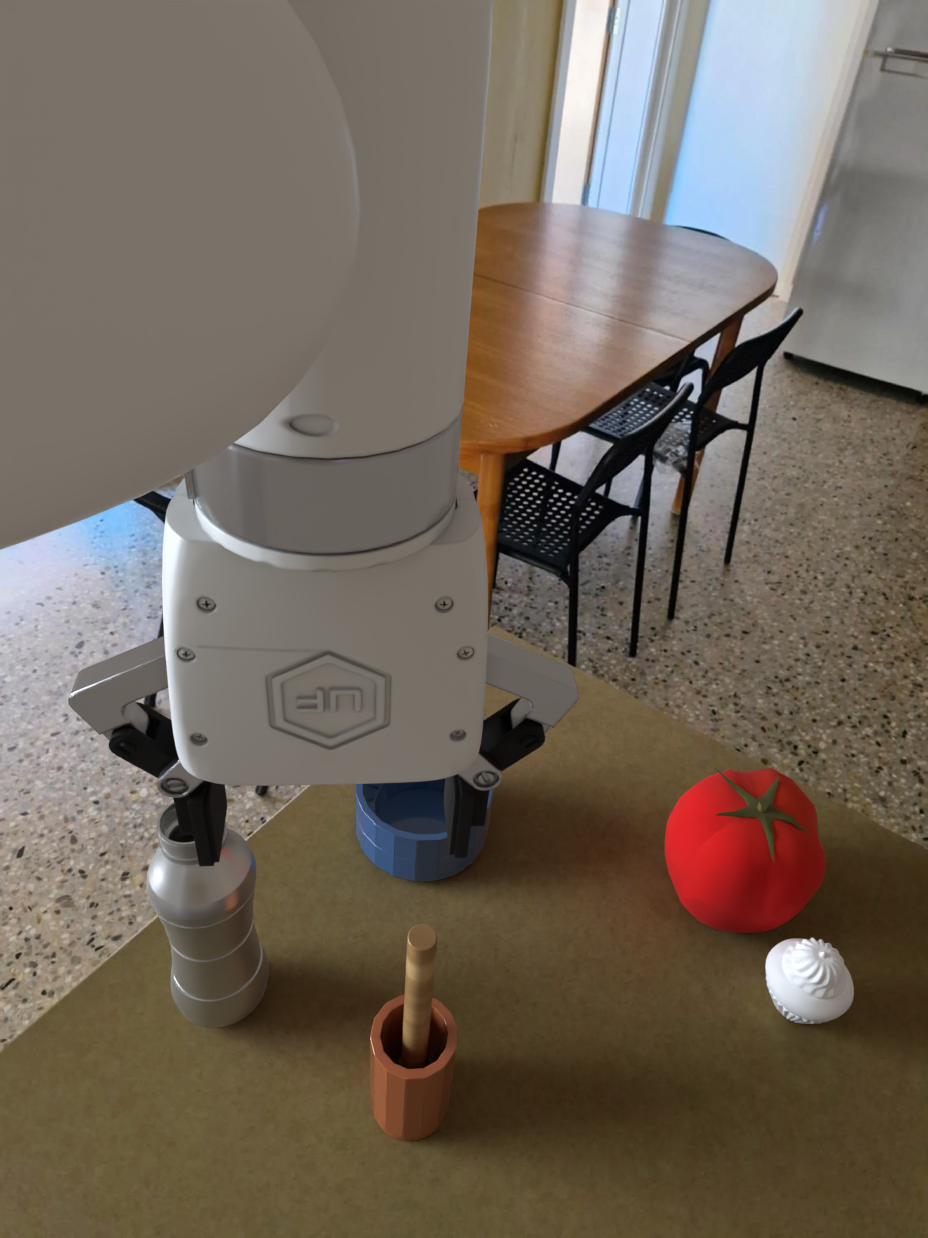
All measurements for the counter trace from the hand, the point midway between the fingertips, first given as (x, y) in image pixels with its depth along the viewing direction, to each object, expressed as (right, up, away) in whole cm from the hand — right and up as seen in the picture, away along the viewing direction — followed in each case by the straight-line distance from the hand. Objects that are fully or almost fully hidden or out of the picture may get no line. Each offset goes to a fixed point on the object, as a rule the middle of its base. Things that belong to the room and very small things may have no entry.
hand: (336, 832), depth 36 cm
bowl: (+2, -9, +41) cm, 42 cm away
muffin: (+30, -20, +31) cm, 47 cm away
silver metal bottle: (-12, -19, +28) cm, 36 cm away
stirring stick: (+2, -23, +23) cm, 33 cm away
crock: (+2, -23, +23) cm, 33 cm away
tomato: (+27, -14, +38) cm, 49 cm away
